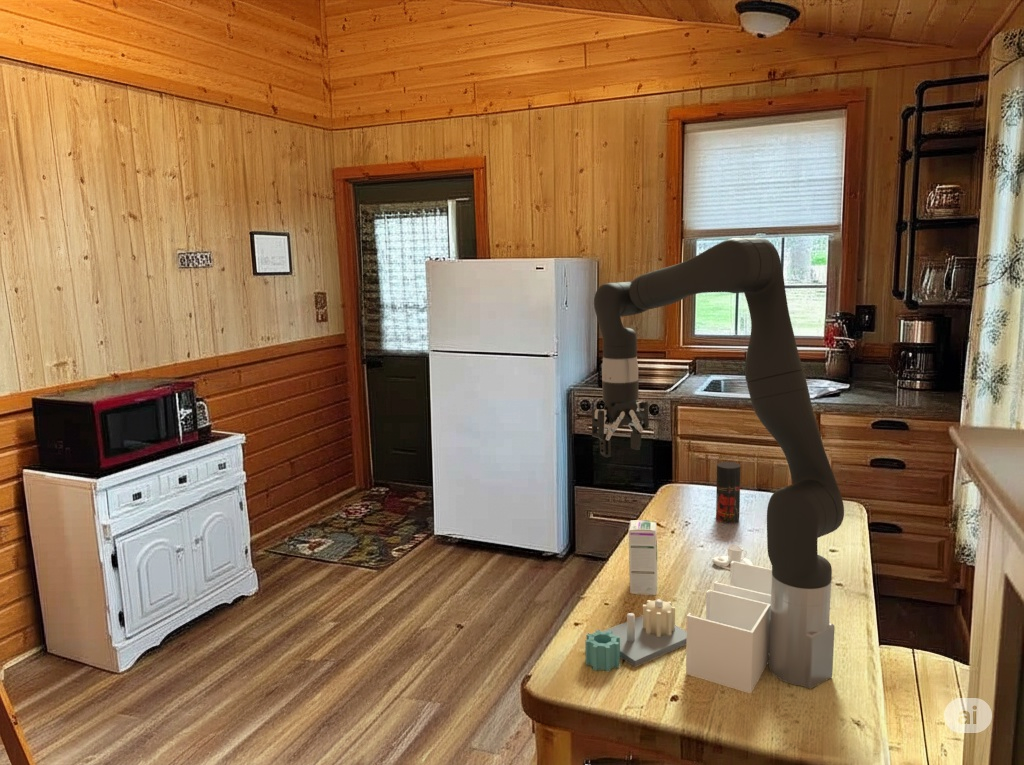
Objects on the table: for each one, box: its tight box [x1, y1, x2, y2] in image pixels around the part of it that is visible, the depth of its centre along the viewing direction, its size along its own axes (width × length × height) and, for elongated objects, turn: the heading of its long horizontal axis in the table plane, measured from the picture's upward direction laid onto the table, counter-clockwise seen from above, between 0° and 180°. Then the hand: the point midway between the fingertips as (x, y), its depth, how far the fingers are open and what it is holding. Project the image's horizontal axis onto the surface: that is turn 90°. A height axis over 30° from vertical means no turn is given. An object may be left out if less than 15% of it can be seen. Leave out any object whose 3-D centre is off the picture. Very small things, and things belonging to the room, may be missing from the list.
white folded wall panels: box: [685, 561, 772, 695], centre depth 130 cm, size 25×11×11 cm, turn 146°
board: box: [601, 598, 687, 668], centre depth 134 cm, size 11×14×7 cm
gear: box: [584, 629, 621, 673], centre depth 128 cm, size 6×6×4 cm
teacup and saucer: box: [711, 545, 753, 571], centre depth 166 cm, size 9×8×4 cm
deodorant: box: [715, 461, 742, 525], centre depth 191 cm, size 6×6×15 cm
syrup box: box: [628, 519, 658, 596], centre depth 154 cm, size 6×6×14 cm
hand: (621, 452), depth 155 cm, fingers open, 8 cm apart
